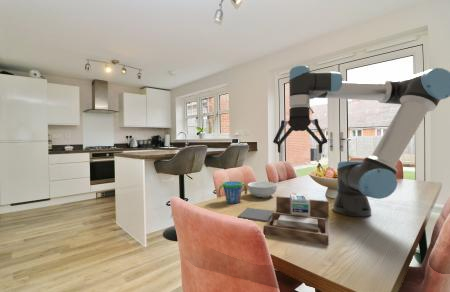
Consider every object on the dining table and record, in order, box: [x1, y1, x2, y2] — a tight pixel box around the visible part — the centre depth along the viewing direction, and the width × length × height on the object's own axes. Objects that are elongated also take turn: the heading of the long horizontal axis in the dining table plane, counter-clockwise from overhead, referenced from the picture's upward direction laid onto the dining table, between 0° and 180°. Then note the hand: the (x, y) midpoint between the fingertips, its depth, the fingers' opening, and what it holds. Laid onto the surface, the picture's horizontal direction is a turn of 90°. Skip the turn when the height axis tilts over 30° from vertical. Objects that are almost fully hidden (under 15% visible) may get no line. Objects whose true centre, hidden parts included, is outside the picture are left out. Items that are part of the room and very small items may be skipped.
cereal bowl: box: [247, 181, 278, 199], centre depth 134 cm, size 17×17×7 cm
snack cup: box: [217, 180, 248, 204], centre depth 122 cm, size 16×10×10 cm
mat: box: [237, 207, 276, 223], centre depth 101 cm, size 13×13×1 cm
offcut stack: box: [273, 215, 321, 233], centre depth 81 cm, size 16×6×5 cm, turn 71°
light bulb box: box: [289, 192, 310, 217], centre depth 91 cm, size 11×7×11 cm, turn 168°
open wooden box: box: [263, 195, 330, 246], centre depth 87 cm, size 21×23×8 cm
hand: (299, 161), depth 91 cm, fingers open, 13 cm apart
